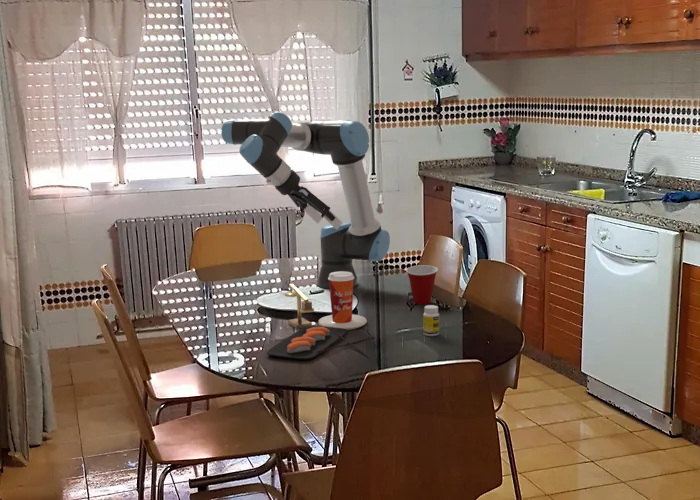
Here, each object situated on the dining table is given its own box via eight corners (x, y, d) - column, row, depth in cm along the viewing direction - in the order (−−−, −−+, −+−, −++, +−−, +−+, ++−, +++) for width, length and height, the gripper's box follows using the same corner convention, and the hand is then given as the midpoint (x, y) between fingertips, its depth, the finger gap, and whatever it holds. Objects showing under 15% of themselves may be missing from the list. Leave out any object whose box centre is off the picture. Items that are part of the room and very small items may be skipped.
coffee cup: (336, 325, 245) (334, 277, 242) (324, 319, 253) (323, 272, 250) (360, 321, 249) (359, 274, 246) (348, 315, 256) (347, 269, 253)
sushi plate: (307, 330, 247) (306, 318, 247) (399, 339, 236) (399, 327, 235) (262, 360, 221) (262, 346, 220) (364, 372, 210) (364, 358, 209)
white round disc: (311, 321, 254) (310, 318, 254) (352, 315, 261) (352, 311, 261) (331, 333, 241) (331, 330, 241) (375, 326, 248) (375, 322, 248)
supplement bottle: (434, 337, 236) (434, 309, 234) (420, 335, 238) (420, 307, 237) (441, 333, 240) (441, 305, 238) (427, 330, 242) (427, 303, 241)
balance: (282, 320, 257) (281, 283, 255) (297, 317, 259) (295, 281, 257) (302, 332, 243) (301, 294, 241) (317, 330, 245) (316, 292, 243)
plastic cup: (401, 304, 272) (400, 270, 270) (413, 297, 282) (413, 264, 279) (430, 308, 267) (430, 273, 265) (442, 300, 277) (442, 266, 274)
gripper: (259, 183, 248) (305, 226, 258) (291, 191, 227) (340, 238, 236) (274, 165, 250) (319, 209, 259) (308, 171, 228) (355, 219, 238)
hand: (329, 223), depth 248 cm, fingers open, 13 cm apart
